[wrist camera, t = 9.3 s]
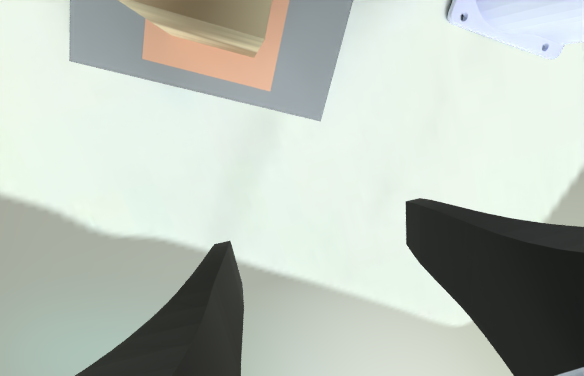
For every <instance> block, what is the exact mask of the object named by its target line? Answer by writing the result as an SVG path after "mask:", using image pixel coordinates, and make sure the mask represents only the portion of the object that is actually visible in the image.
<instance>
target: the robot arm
mask: <svg viewBox="0 0 584 376" xmlns="http://www.w3.org/2000/svg"><path fill="white" fill-rule="evenodd" d="M462 14H463V16H464V19H463V21H462V20H461V15H462ZM447 18H448V21H449V23H451V24H453V25H456V26H458V27H461V28H464V29H467V30H469V31H472V32H475V33H478V34H480V35H483V36H486V37H489V38H491V39H494V40H497V41H500V42H503V43H505V44H508V45H511V46H514V47H516V48H519V49H522V50H525V51H527V52H530V53H533V54H536V55H538V56H541V57H544V58H547V59H555V58H557V57H558V56H559V55H560V53H561V51H562V49H563V47H564V45H565V44H571V43H580V42H584V0H453V1H452V4H451V6H450V9H449V12H448V16H447ZM542 46H543V49H542ZM406 244H407V246H408V247H409V249H410V250H411V252H412V253H413V255H414V256H415V257H416V259H417V260H418V261H419V263H420V264H421V265H422V266H423V267H424V268H425V269H426V270H427V271H428V272H429V274H430V275H431V276H432V277H433V278H434V279H435V280H436V281H437V282H438V283H439V284H440V285H441V286H442V287H443V288H444V289H445V290H446V291H447V292H448V293H449V294H450V295H451V297H452V298H453V299H454V300H455V301H456V302H457V303H458V304H459V305H460V306H461V307H462V308H463V309H464V310H465V312H466V313H467V314H468V315H469V316H470V317H471V319H472V320H473V321H474V323H475V324H476V325H477V326H478V328H479V329H480V330H481V331H482V333H483V334H484V335H485V337H486V338H487V339H488V341H489V342H490V343H491V345H492V346H493V347H494V349H495V350H496V351H497V353H498V354H499V355H500V357H501V358H502V359H503V361H504V362H505V364H506V365H507V366H508V368H509V369H510V371H511V372H512V373H513V375H514V376H584V227H577V226H565V225H555V224H546V223H538V222H531V221H524V220H518V219H512V218H506V217H502V216H497V215H492V214H487V213H483V212H478V211H474V210H470V209H466V208H462V207H458V206H454V205H450V204H446V203H442V202H437V201H433V200H428V199H421V198H419V199H415V200H410V201H406ZM243 314H244V302H243V288H242V282H241V278H240V274H239V270H238V267H237V263H236V260H235V256H234V252H233V249H232V245H231V241H227V242H223V243H218V244H214V246H213V247H212V248H211V250H210V251H209V252H208V254H207V255H206V257H205V258H204V259H203V261H202V262H201V264H200V265H199V266H198V267H197V269H196V270H195V272H194V273H193V274H192V275H191V276H190V278H189V279H188V280H187V281H186V282H185V284H184V285H183V286H182V287H181V288H180V290H179V291H178V292H177V293H176V294H175V295H174V296H173V297H172V298H171V300H169V302H168V303H167V304H166V305H165V306H164V307H163V308H161V309H160V311H158V312H157V314H155V315H154V316H153V317H152V318H151V319H150V320H149V321H147V322H146V323H145V324H144V325H143V326H142V327H140V328H139V329H138V330H137V331H136V332H134V333H133V334H132V335H131V336H130V337H129V338H127V339H126V340H125V341H124V342H122V343H121V344H120V345H118V346H117V347H116V348H114V349H113V350H112V351H110V352H109V353H107V354H106V355H105V356H103V357H102V358H100V359H99V360H98V361H96V362H95V363H93V364H92V365H90V366H89V367H88V368H86V369H85V370H83V371H82V372H80V373H78V374H77V375H75V376H241V350H242V333H243Z"/></svg>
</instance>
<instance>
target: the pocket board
mask: <svg viewBox="0 0 584 376" xmlns="http://www.w3.org/2000/svg"><path fill="white" fill-rule="evenodd" d="M352 2H353V0H272V4H271V9H270V15H269V20H268V25H267V30H266V36H265V40H264V41H263V43H262V45H261V47H260V48H259V50H258V52H257V54H256V55H255V57H254V58H252V57H248V56H245V55H241V54H237V53H234V52H230V51H226V50H223V49H219V48H215V47H212V46H208V45H205V44H201V43H197V42H194V41H190V40H186V39H183V38H179V37H175V36H172V35H170V34H169V33H167V32H165V31H164V30H162V29H161V28H159V27H158V26H156V25H155V24H153V23H152V22H150V21H149V20H147V19H146V18H144V17H143V16H141V15H140V14H138V13H136V12H135V11H133V10H132V9H130V8H129V7H127V6H126V5H124V4H123V3H121V2H120V1H118V0H70V59H69V61H71V62H76V63H80V64H84V65H88V66H92V67H96V68H101V69H105V70H109V71H113V72H117V73H121V74H126V75H130V76H134V77H138V78H142V79H146V80H151V81H155V82H159V83H163V84H167V85H171V86H176V87H180V88H184V89H188V90H192V91H196V92H201V93H205V94H209V95H213V96H217V97H221V98H226V99H230V100H234V101H238V102H242V103H246V104H251V105H255V106H259V107H263V108H267V109H271V110H276V111H280V112H284V113H288V114H292V115H296V116H301V117H305V118H309V119H313V120H317V121H321V118H322V114H323V110H324V107H325V103H326V99H327V95H328V92H329V88H330V84H331V81H332V77H333V73H334V69H335V66H336V62H337V58H338V54H339V51H340V47H341V43H342V40H343V36H344V32H345V28H346V25H347V21H348V17H349V14H350V10H351V6H352Z"/></svg>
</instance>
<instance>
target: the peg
mask: <svg viewBox="0 0 584 376" xmlns="http://www.w3.org/2000/svg"><path fill="white" fill-rule="evenodd" d="M118 1H120V2H121V3H123V4H124V5H126V6H127V7H129V8H130V9H132V10H133V11H135V12H136V13H138V14H140V15H141V16H143V17H144V18H146V19H147V20H149V21H150V22H152V23H153V24H155V25H156V26H158V27H159V28H161V29H162V30H164V31H165V32H167V33H169V34H170V35H172V36H175V37H179V38H183V39H186V40H190V41H194V42H197V43H201V44H205V45H208V46H212V47H215V48H219V49H223V50H226V51H230V52H234V53H237V54H241V55H245V56H248V57H252V58H254V57H255V55H256V54H257V52H258V50H259V48H260V47H261V45H262V43H263V41H264V40H265V36H266V30H267V25H268V20H269V15H270V9H271V4H272V0H118Z"/></svg>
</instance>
